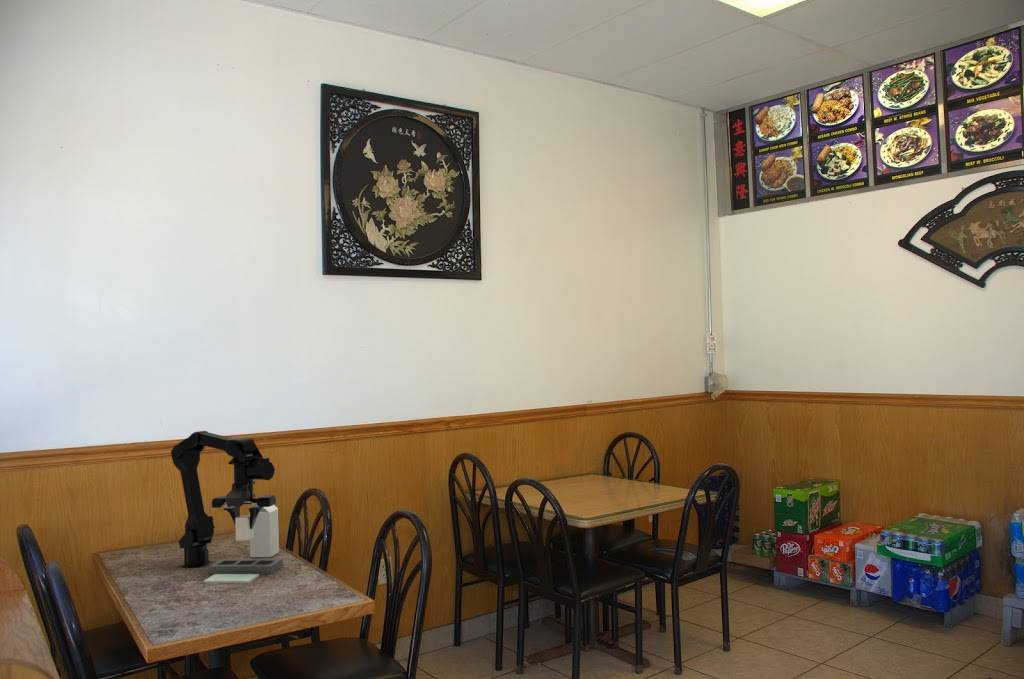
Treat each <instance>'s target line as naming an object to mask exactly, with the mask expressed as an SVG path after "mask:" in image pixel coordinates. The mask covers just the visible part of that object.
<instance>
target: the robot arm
mask: <svg viewBox="0 0 1024 679" xmlns="http://www.w3.org/2000/svg"><path fill="white" fill-rule="evenodd" d="M206 447H209V448H212V449H215V450H220V451H223V452H225V454H226V455H228V456H230V457H232V459H231V460H230V461H228V462H227V463H228V465H229V466H231V465H233V483H232V484H231V489H230V491H229V492H228V493H227V494H226V495H218V496H216V497H214V498H212V499H211V500H212V501H211V508H212V509H213V508H214V509H216V508H222V507H223V508H222V509H223V510H224V511H227V513H228V514H229V515H230V517H231V519H232V521H233V523H234V524H233V525H234V526H235V527H236V525H235V518H236V517H238V516H240V515H241V507H242V506H243V505H251V507H248V510H249V513H250V529H252V528H253V526H254V523H255V521H256V518H257V516H258V514H259V512H260V510H261V508H263V507H270V506H272V505H276V504H277V497H276V495H275V494H264V495H263V494H262V495H261V496H259V497H256V493H254V485H255V484H256V481H270V480H271V479H273V478H274V475H275V467H274V464H273V462H271V461H270V457H264V456H263V455H262V453H261V451H260V450H259V448H258V446H257V444H256V442H255V440H254V439H253V438H251V437H237V438H236V437H235V438H232V437H229V436H225V435H221V434H220V435H219V434H218V433H213V432H209V431H206V430H200V431H194V432H193V433H191V434H190V435H189V436H188V437H186V438H184V439H183V440H181V441H179V442H178V443H177V444H175V445H174V446H173V447H172V449H171V450H170V451H171V452H170V454H171V455H170V457H171V458H172V459H171V460H172V461H173V462H172V463H173V465H174V466H175V468H176V469H177V470H178V471H179V472H180V477H181V482H182V488H183V492H184V500H185V506H186V510H187V519H186V520H185V521H186V522H185V524H184V534H183V535H182V537H181V538H180V539H179V541H178V545H179V548H180V549H183V552H184V553H183V558H184V560H183V563H184V564H181V568H201V567H203V566H204V565H206V564H208V563H211V562H210V561H211V560H209V548H208V544H211V542H212V540H213V536H214V534H215V528H216V526H215V524H214V517H213V516H212V515H211V516H209V515H208V514H207V513H206V511H205V506H204V501H203V496H202V490H201V485H200V479H199V473H198V466H199V463H200V461H201V453H202V452H203V451H204V450H205V448H206ZM255 480H256V481H255Z"/></svg>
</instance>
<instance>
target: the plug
mask: <svg viewBox="0 0 1024 679" xmlns="http://www.w3.org/2000/svg"><path fill="white" fill-rule="evenodd" d="M235 525H236V526H235ZM234 526H235V541H250V539H252V538H253V537H254V527H253V528H252V529H250V515H249V514H240V516H238V517H236V518H235V524H234Z"/></svg>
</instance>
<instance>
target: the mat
mask: <svg viewBox="0 0 1024 679" xmlns="http://www.w3.org/2000/svg"><path fill="white" fill-rule="evenodd" d="M258 577H260V574H212V575H211V576H210V577H208V578H206V579H205V580H203V583H204V584H215V583H216V584H223V583H224V584H229V583H230V584H233V583H234V584H235V583H236V584H240V583H241V584H249V583H251V582H253V581H255V580H256V579H258Z"/></svg>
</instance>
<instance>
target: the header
mask: <svg viewBox="0 0 1024 679" xmlns="http://www.w3.org/2000/svg"><path fill="white" fill-rule="evenodd" d="M283 561H284V559H283V558H222V559H220V560H218V561H216V562H215V563H212V564H211V565H209V566H208V575H214V574H259V575H272V574H274V573H276V572H277V571H279V568H280V569H282V566H284V562H283Z"/></svg>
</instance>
